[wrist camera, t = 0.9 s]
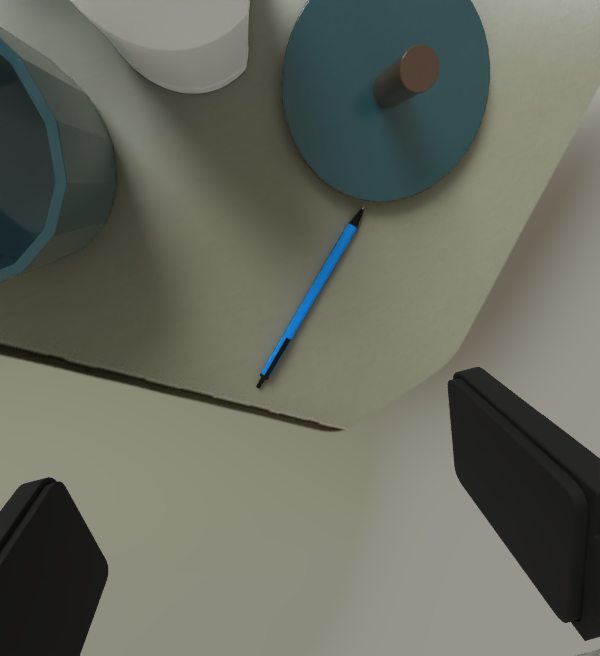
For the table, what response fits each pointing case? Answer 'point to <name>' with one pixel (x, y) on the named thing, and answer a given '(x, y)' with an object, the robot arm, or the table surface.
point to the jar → (177, 39)
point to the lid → (385, 92)
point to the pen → (311, 297)
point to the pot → (48, 162)
